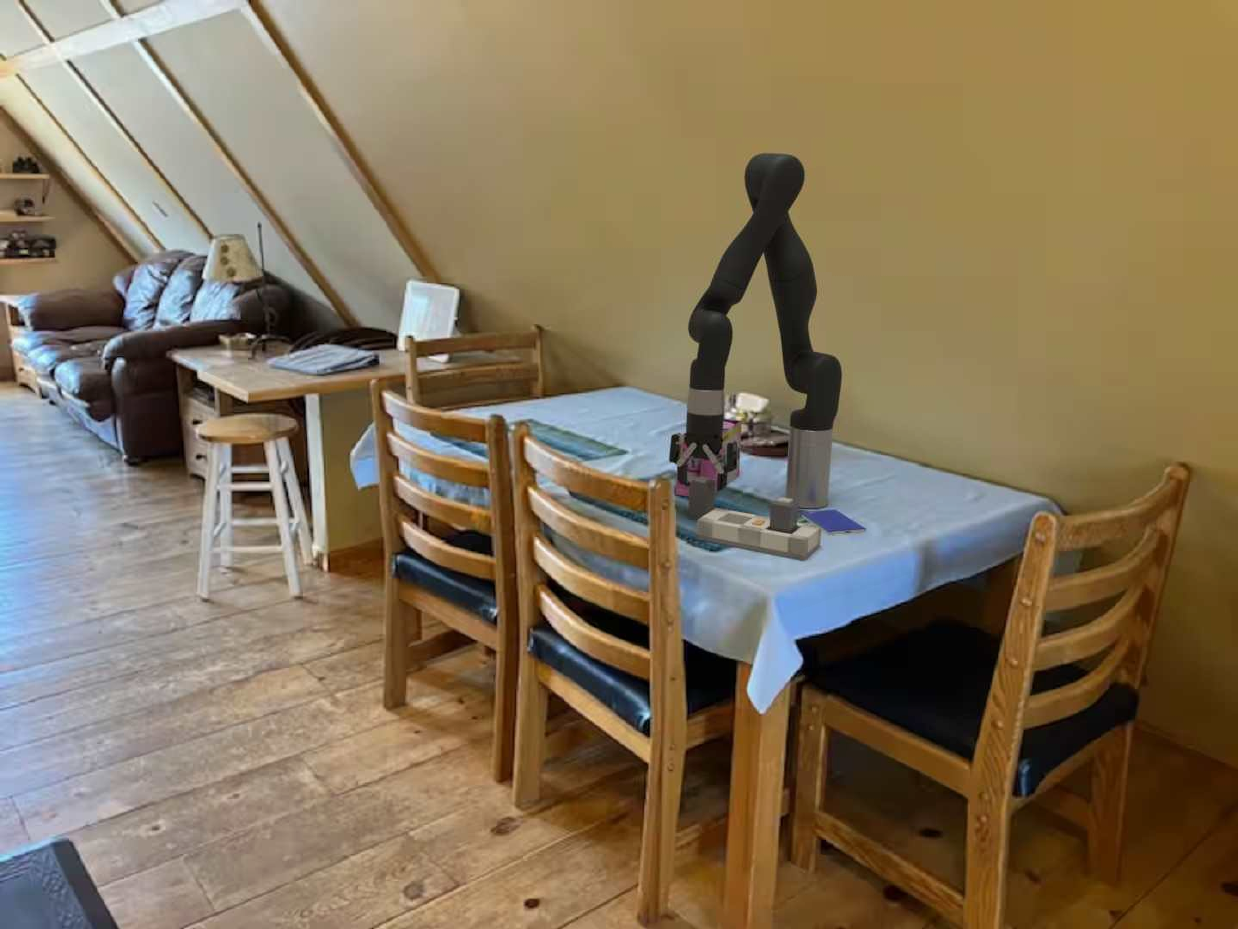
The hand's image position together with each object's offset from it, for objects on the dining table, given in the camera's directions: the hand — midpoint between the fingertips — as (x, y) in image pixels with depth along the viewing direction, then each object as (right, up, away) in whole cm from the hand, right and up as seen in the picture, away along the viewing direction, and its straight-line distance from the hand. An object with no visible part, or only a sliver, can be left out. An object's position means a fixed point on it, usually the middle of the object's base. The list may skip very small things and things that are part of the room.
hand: (701, 486), depth 205 cm
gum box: (+4, 0, +26) cm, 26 cm away
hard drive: (+27, -8, 0) cm, 28 cm away
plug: (0, -7, +2) cm, 7 cm away
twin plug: (+14, -10, -15) cm, 23 cm away
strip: (+10, -11, -12) cm, 19 cm away
